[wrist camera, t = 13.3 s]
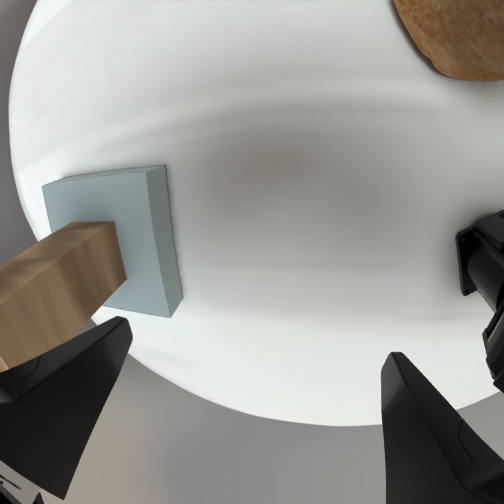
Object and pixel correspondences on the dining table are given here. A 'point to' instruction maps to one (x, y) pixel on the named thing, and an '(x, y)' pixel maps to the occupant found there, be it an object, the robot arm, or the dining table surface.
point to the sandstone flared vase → (458, 35)
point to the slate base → (127, 230)
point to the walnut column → (56, 288)
